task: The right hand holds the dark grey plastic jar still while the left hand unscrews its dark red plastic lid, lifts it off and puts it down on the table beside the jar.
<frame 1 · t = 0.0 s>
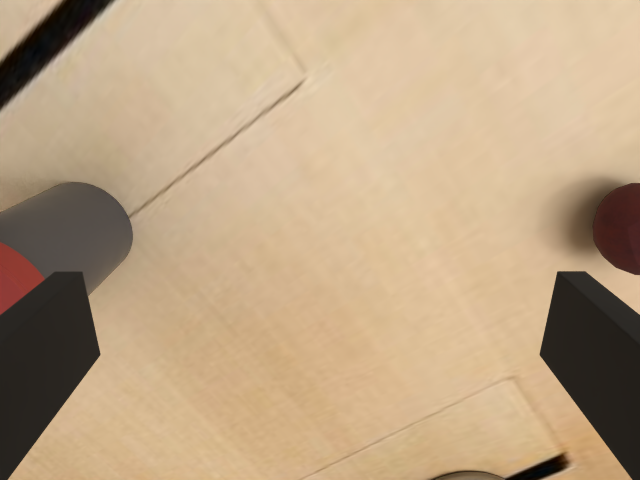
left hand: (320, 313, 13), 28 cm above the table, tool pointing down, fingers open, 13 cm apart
dark red ball: (615, 213, 41), on the table
jar: (84, 229, 42), on the table
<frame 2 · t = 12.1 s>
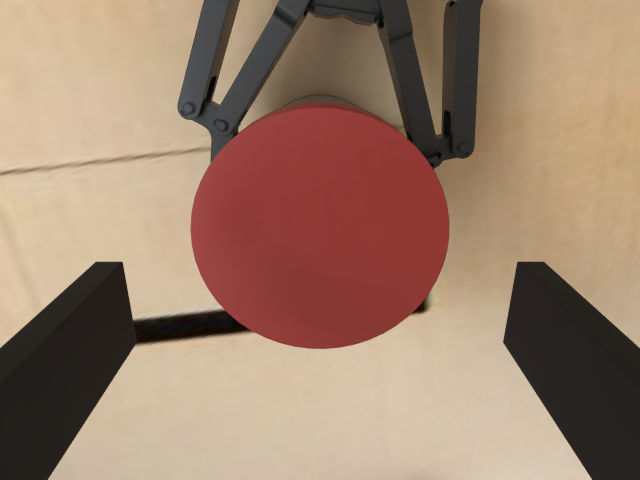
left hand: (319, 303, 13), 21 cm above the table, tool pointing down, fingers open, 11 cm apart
jar: (320, 158, 33), on the table, touching right hand
lid: (320, 237, 18), point 16 cm above the table, screwed on, not yet turned
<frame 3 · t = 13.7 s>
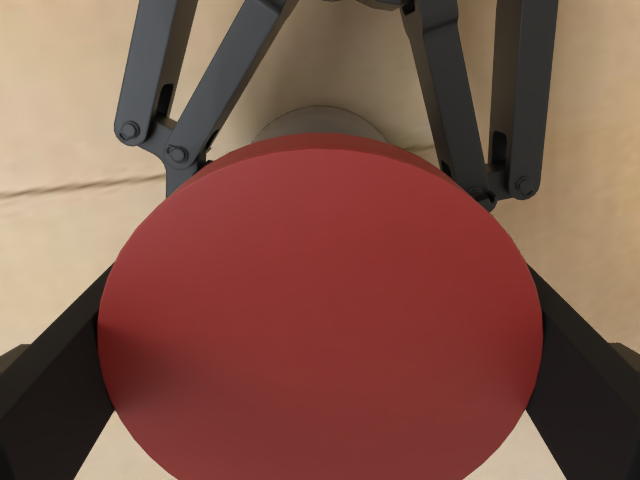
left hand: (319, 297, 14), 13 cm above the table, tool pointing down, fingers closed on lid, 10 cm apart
jar: (319, 187, 25), on the table, touching right hand
lid: (320, 360, 11), point 16 cm above the table, screwed on, not yet turned, touching left hand
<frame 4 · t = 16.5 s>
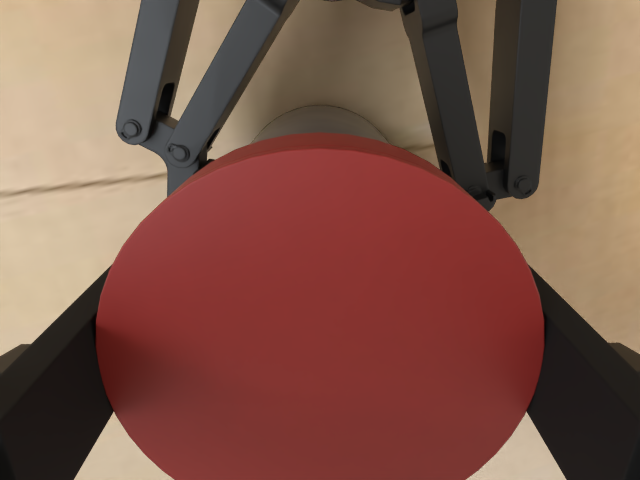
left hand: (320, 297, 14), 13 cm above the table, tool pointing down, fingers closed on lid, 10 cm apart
jar: (320, 186, 26), on the table, touching right hand
lid: (320, 361, 11), point 16 cm above the table, turned 66° so far, risen 0.2 cm, still on its thread, touching left hand
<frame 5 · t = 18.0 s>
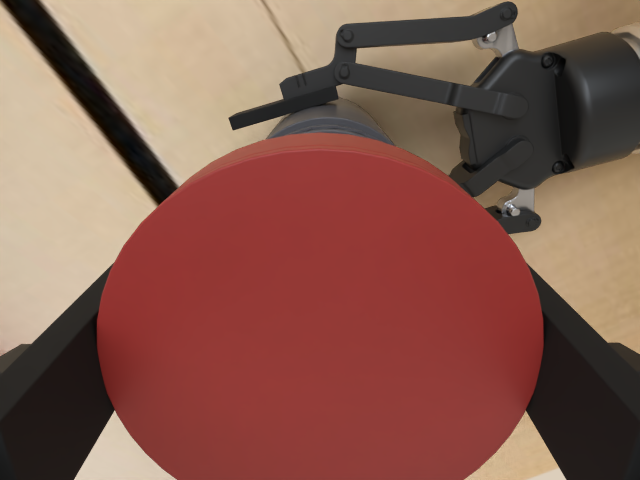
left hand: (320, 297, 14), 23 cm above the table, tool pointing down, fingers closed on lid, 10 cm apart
right hand: (260, 193, 30), fingers closed on jar, 9 cm apart
jar: (327, 155, 35), on the table, touching right hand
lid: (320, 360, 11), point 26 cm above the table, off its thread, touching left hand
when the left hand's fingers open (0 cm above the table, at t = 23.1 s): lid drops 2 cm, point 2 cm above the table.
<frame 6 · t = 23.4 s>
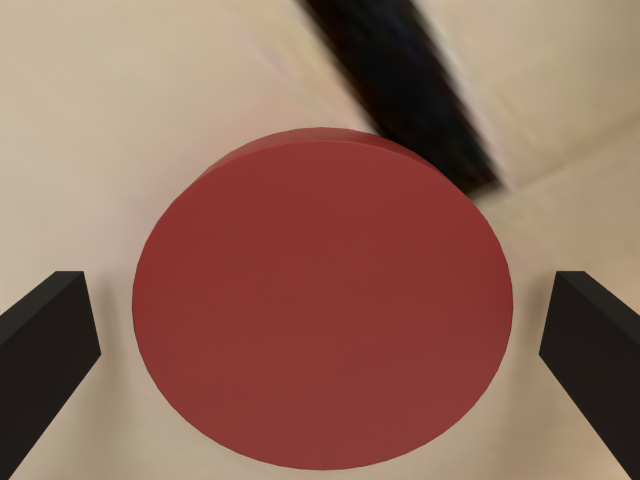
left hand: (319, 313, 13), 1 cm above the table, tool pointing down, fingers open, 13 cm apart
lid: (322, 323, 13), point 2 cm above the table, off its thread
when the right hand's fingers open (7 cm above the table, at t = 24.1 s): jar stays where it is, on the table.
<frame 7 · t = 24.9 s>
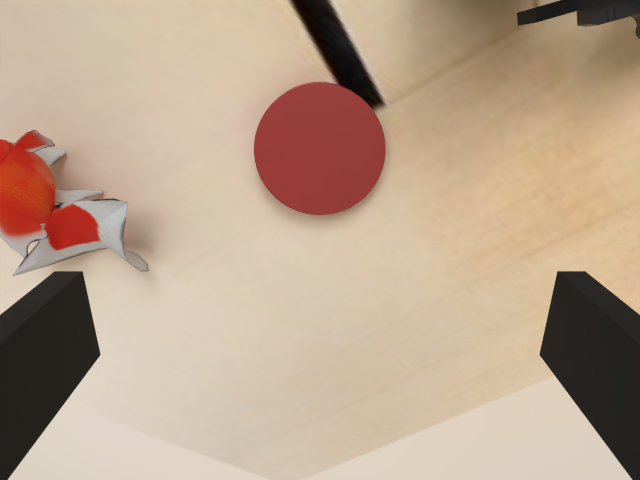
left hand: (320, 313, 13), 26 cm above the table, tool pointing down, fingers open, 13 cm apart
fish: (87, 196, 39), on the table
lid: (319, 151, 36), point 2 cm above the table, off its thread
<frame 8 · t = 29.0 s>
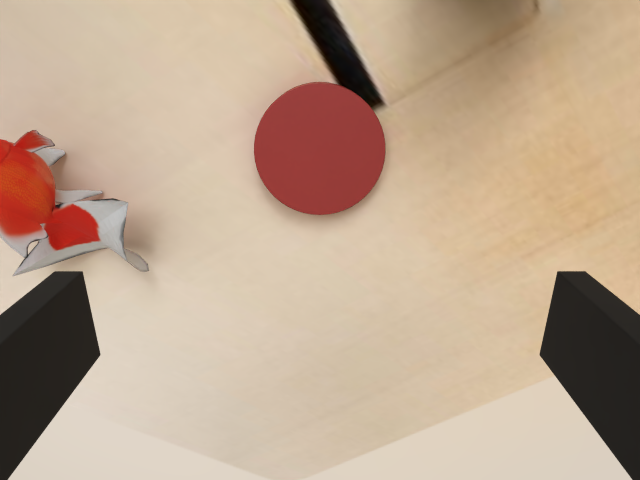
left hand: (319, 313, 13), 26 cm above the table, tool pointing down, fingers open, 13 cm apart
fish: (87, 196, 39), on the table
lid: (319, 151, 36), point 2 cm above the table, off its thread
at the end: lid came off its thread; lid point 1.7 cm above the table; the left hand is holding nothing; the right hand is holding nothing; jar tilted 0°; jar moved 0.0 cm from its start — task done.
